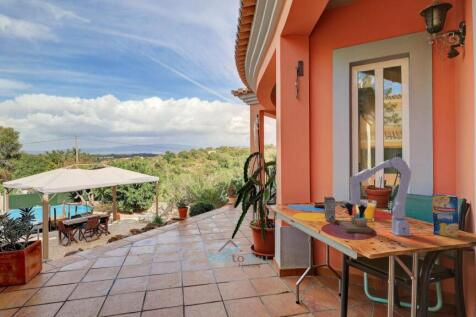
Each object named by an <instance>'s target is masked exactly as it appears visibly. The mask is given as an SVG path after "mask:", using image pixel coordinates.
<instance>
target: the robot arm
mask: <svg viewBox="0 0 476 317" xmlns="http://www.w3.org/2000/svg"><path fill="white" fill-rule="evenodd" d="M391 167H393V168H394V169H396V170H397V171H398V172H399V173H400V174H401V175H400V180H399V184H398V190H397V196H396V201H395V204H394V206H393V207H392V216H391V229H390V230H389V232H390V233H392V234H393V235H395V236H397V237H398V236H399V237H400V236H401V237H405V236H406V237H407V236H408V237H412V234H411V231H410V230H411V229H410V227H411V226H410V223H409V221H408V220H407V216H406V202H407V196H408V191H409V186H410V180H411V176H412V171H411V169H410V168H409V166H408V163H407V162H406V161H405V160H404V158H402V157H399V156H396V157H393V158H392V159H391V158H389V159H388V160H385V161H382V162H380V163H379V164H377V165H375V166H374V167H372V168H370V169H369V168H363V169H362V170H361V171H359V172H358V173H355V174H354V175H352V176H350V177H349V192H350V199H349V200H348V199H346V200H344V207H345V208H346V210H347V213H348V216H353V207H354V205H355V206H357V208H358V211H359V212H358V213H360V218H363V215H364V214H365V212H366V210H367V208H368V202H364V201H362V200H361V186H360V184H361V182H362V183H363V182H365V181H367V180H369V179H370V178H372V177H373V175H374V174H375V173H378V172H380V171H382V170H383V169H385V168H391Z"/></svg>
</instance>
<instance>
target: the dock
mask: <svg viewBox="0 0 476 317" xmlns="http://www.w3.org/2000/svg"><path fill="white" fill-rule="evenodd" d="M338 226H339V227H341V228H342V229H343V230H344V231H345V232H346V233H355V234H356V233H357V234H358V233H362V234H364V233H365V234H366V233H367V234H371V233H372V232H373V228H372V227H370V225H368V224H366V225H359V226H357V225H354V224H351V219H350V220H341V219H340V220H338Z"/></svg>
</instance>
